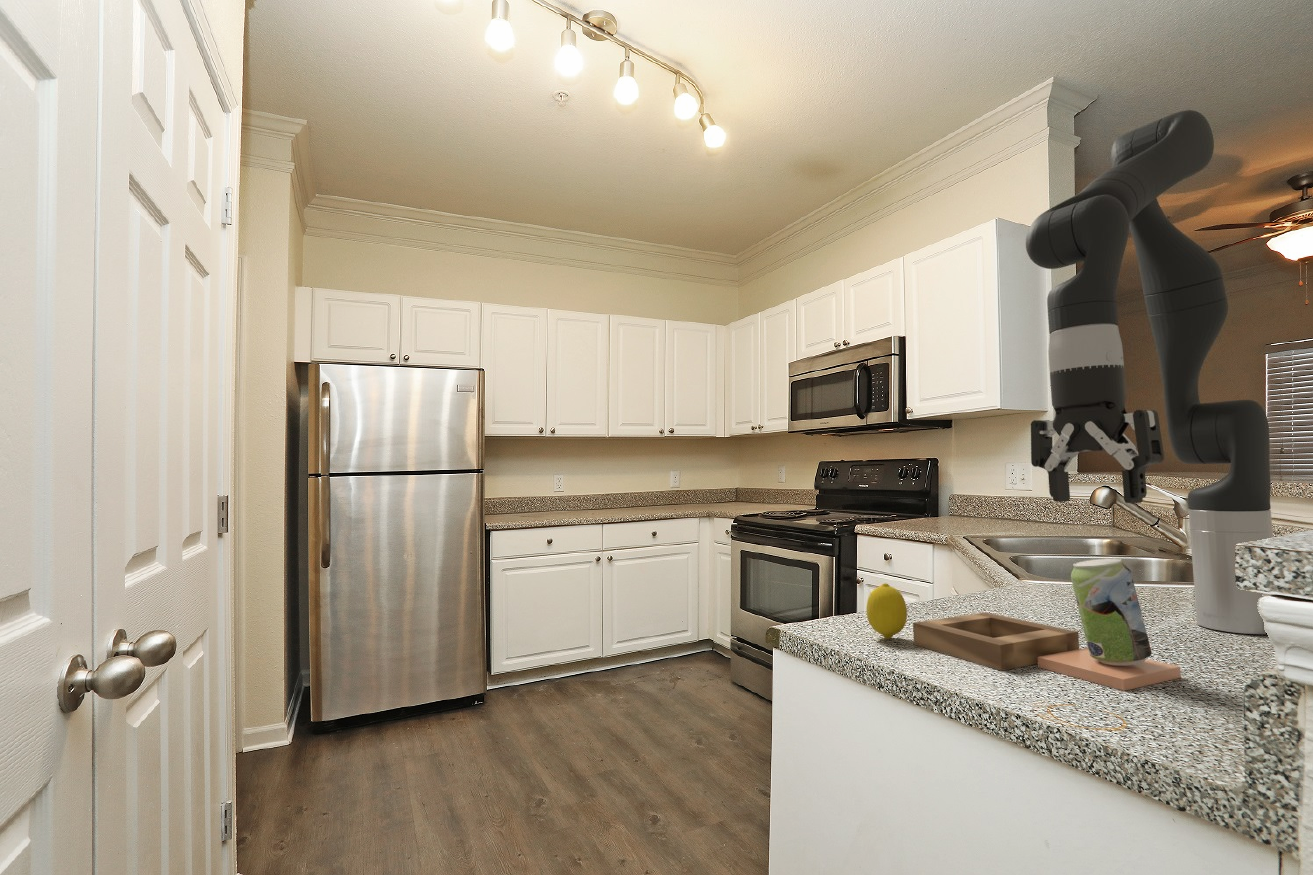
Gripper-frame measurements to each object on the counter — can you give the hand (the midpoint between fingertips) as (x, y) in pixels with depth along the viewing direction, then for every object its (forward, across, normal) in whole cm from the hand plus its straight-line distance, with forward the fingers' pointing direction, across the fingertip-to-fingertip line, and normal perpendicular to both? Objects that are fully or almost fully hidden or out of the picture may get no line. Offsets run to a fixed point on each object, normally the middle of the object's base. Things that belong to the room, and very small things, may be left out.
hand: (1095, 502), depth 78 cm
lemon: (+20, +24, +11) cm, 33 cm away
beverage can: (+19, -1, 0) cm, 19 cm away
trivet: (+20, 0, 0) cm, 20 cm away
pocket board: (+20, +13, +3) cm, 24 cm away
